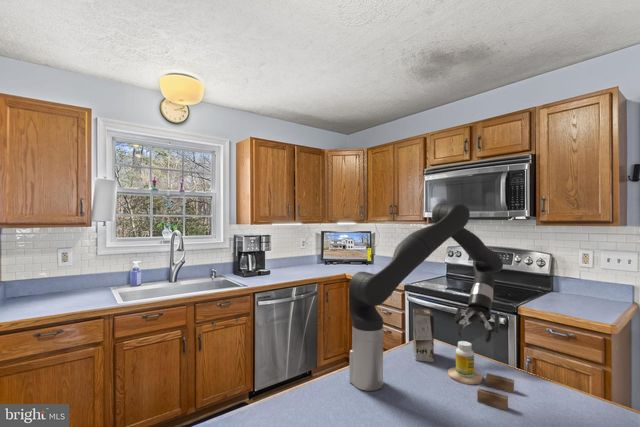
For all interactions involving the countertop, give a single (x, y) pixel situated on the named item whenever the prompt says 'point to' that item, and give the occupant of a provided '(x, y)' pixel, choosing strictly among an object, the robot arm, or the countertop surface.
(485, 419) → the countertop surface
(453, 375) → the trivet
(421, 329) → the coffee box
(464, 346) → the supplement bottle
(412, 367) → the countertop surface
